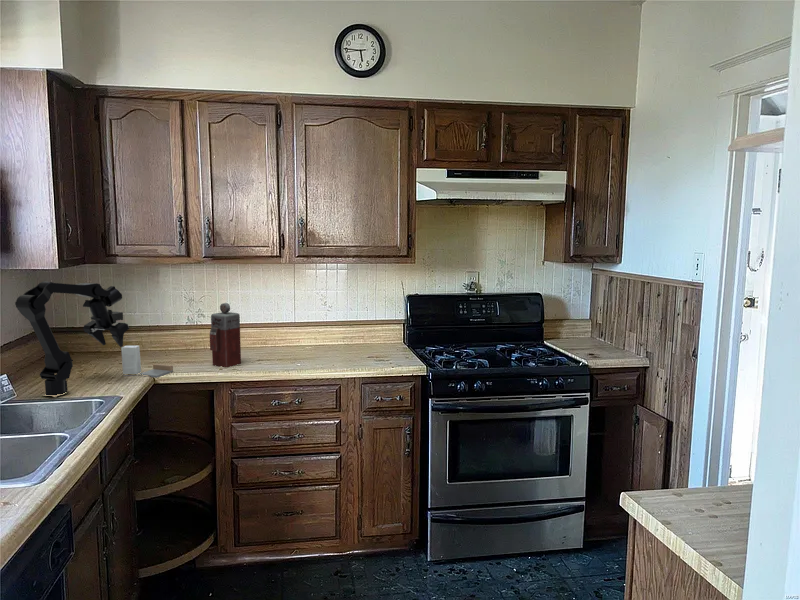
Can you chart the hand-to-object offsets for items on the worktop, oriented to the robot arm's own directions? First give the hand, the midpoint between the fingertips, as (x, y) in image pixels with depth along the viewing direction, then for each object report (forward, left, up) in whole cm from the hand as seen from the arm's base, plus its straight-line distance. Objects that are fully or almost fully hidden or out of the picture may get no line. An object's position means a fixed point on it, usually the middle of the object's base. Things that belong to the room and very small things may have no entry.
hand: (113, 345), depth 233 cm
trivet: (+11, -11, -13) cm, 21 cm away
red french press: (+34, -29, -14) cm, 47 cm away
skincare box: (+7, -2, -14) cm, 15 cm away
